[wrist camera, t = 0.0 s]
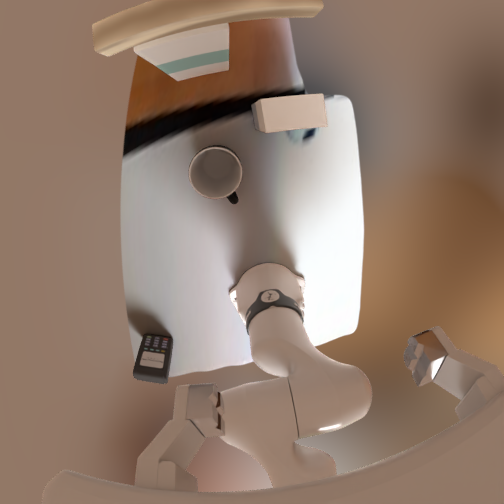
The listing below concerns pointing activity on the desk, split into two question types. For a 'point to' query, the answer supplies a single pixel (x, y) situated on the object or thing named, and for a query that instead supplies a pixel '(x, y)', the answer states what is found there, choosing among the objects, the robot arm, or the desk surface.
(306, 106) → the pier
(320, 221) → the desk surface
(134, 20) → the batten
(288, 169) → the desk surface
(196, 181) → the mug
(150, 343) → the card reader
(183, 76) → the tower
